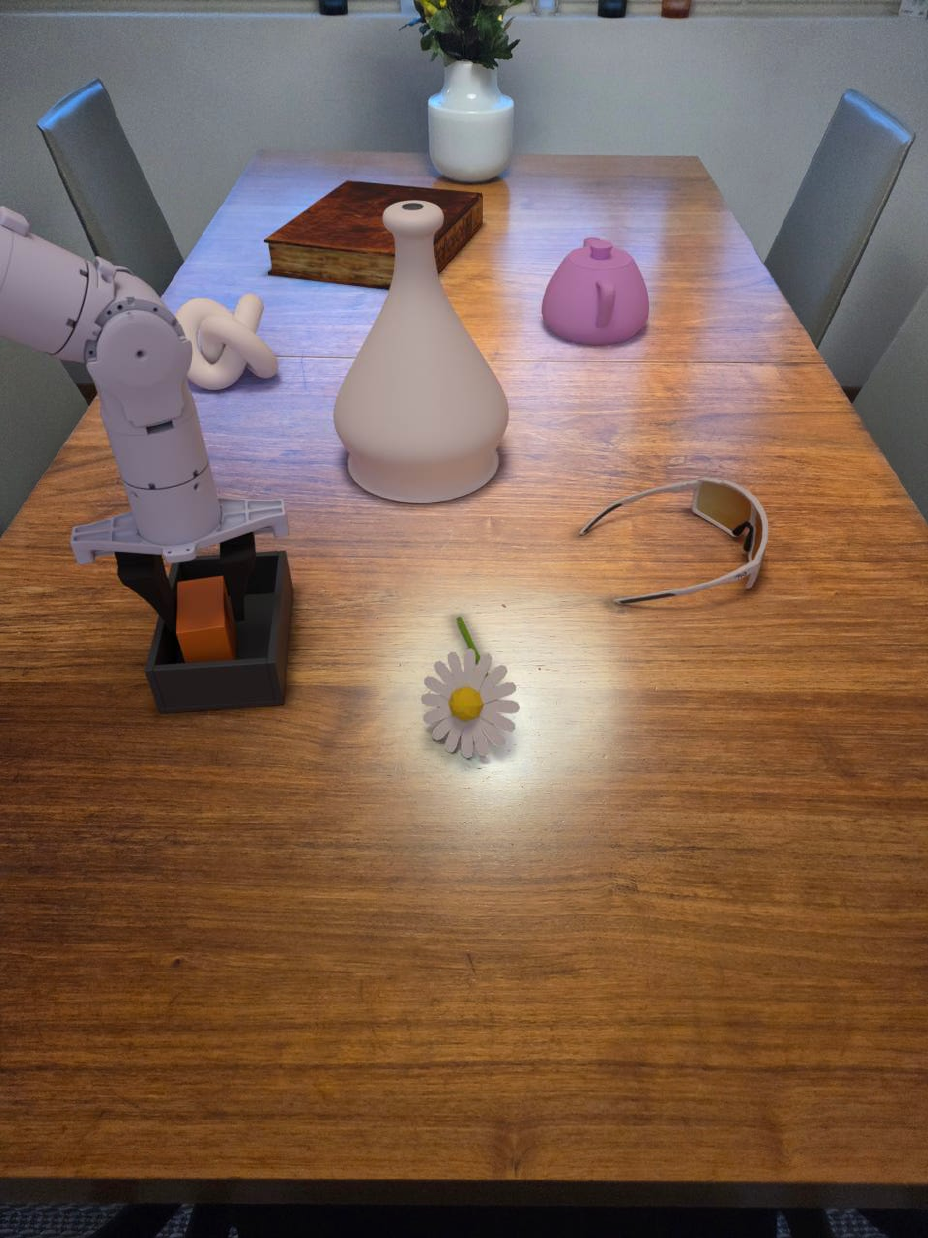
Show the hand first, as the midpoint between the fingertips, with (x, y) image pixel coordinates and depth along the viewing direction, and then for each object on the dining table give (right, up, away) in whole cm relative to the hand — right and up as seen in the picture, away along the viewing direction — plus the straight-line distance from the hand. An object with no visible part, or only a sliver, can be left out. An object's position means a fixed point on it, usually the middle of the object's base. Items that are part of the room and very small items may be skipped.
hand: (207, 617), depth 67 cm
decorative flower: (+19, -6, 0) cm, 20 cm away
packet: (0, -3, +2) cm, 3 cm away
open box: (+1, -2, +3) cm, 4 cm away
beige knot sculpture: (-7, +28, +38) cm, 48 cm away
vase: (+15, +16, +24) cm, 33 cm away
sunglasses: (+39, +5, +12) cm, 41 cm away
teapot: (+37, +39, +49) cm, 72 cm away
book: (+7, +58, +70) cm, 90 cm away
